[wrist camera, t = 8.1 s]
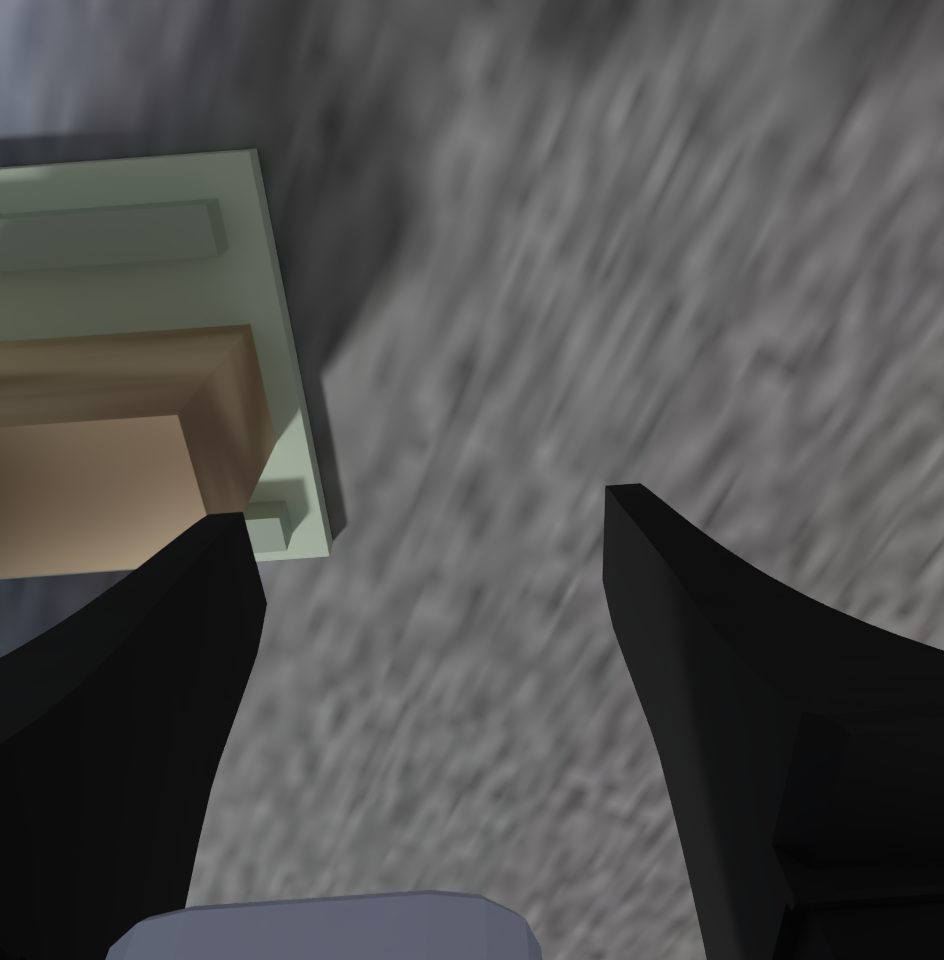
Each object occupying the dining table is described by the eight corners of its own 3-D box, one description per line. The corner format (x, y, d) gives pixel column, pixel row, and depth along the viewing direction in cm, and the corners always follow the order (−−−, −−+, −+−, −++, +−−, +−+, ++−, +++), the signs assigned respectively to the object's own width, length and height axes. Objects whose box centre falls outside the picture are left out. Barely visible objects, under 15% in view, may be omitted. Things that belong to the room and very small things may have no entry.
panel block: (276, 443, 21) (220, 563, 16) (7, 461, 21) (-138, 587, 16) (250, 324, 19) (177, 414, 14) (-44, 344, 19) (-225, 443, 14)
